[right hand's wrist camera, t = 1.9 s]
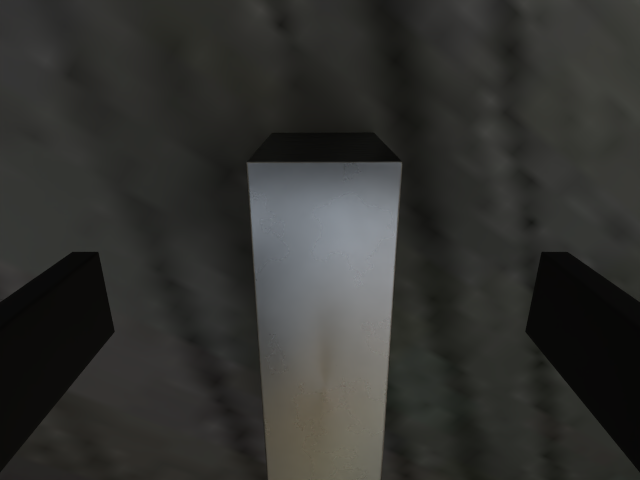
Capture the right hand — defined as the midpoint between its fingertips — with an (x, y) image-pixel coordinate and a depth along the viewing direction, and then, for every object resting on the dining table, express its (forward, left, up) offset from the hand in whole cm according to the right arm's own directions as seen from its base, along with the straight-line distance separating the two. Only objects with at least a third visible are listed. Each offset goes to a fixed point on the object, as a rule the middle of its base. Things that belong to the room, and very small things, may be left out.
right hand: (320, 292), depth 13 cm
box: (+5, +5, -13) cm, 14 cm away
